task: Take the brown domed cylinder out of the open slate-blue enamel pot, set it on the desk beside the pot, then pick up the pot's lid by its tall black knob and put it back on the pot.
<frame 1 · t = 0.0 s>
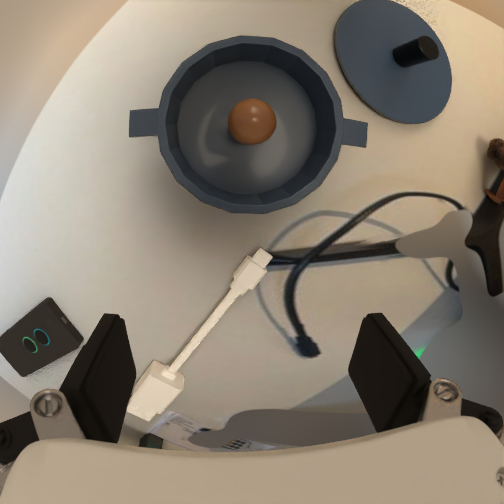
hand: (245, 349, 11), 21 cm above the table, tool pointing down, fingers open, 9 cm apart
smart home device: (35, 339, 35), on the table
pot: (247, 125, 27), on the table
charging cable: (185, 346, 36), on the table
orange-brown curved ring piece: (492, 165, 31), on the table
brown domed cylinder: (247, 125, 27), resting on pot
lid: (399, 58, 25), point 1 cm above the table
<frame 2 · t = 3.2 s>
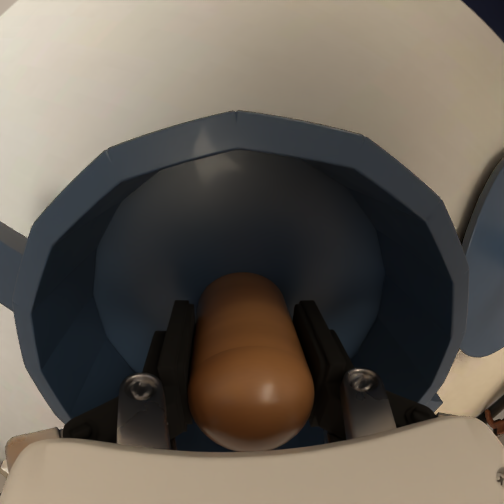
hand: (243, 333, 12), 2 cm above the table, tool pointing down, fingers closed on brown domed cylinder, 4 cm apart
pot: (241, 306, 14), on the table
brown domed cylinder: (241, 311, 13), resting on pot, touching gripper
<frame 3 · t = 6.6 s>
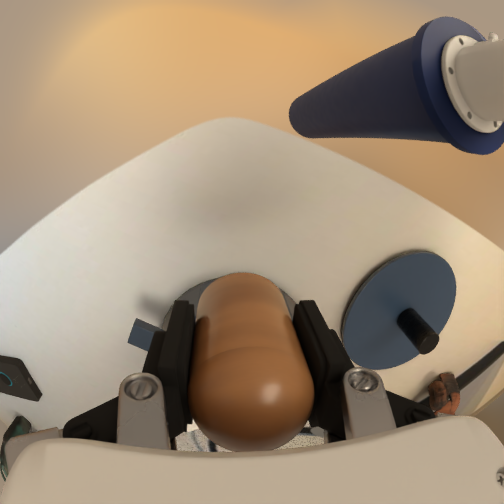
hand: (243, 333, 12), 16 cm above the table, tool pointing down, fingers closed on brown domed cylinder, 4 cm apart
dark green sculpted piece: (49, 442, 39), on the table
pot: (234, 340, 31), on the table
orange-brown curved ring piece: (430, 388, 39), on the table
brown domed cylinder: (241, 311, 13), point 14 cm above the table, touching gripper
lid: (403, 315, 31), point 1 cm above the table
when the fingers open (2 cm above the table, at t = 10.1 s): brown domed cylinder stays where it is, on the table.
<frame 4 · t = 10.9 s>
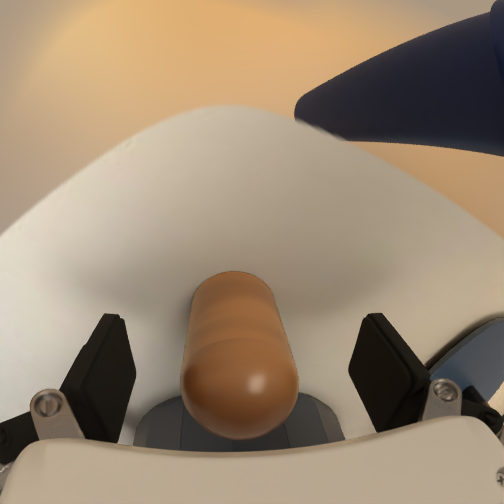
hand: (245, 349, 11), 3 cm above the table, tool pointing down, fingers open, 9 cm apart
pot: (239, 449, 18), on the table
brown domed cylinder: (233, 308, 14), on the table
lid: (459, 392, 19), point 1 cm above the table
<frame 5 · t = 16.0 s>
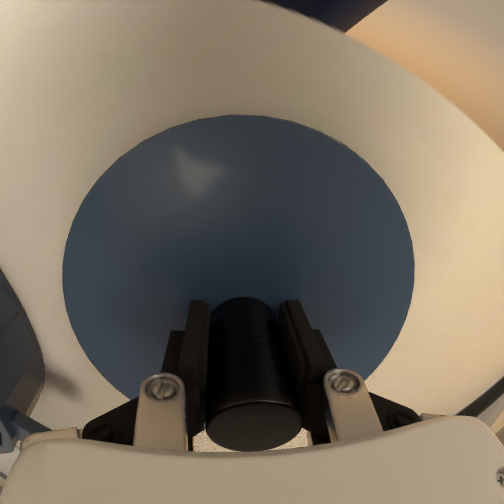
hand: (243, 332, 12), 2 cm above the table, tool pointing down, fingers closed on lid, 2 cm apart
lid: (242, 316, 13), point 1 cm above the table, touching gripper
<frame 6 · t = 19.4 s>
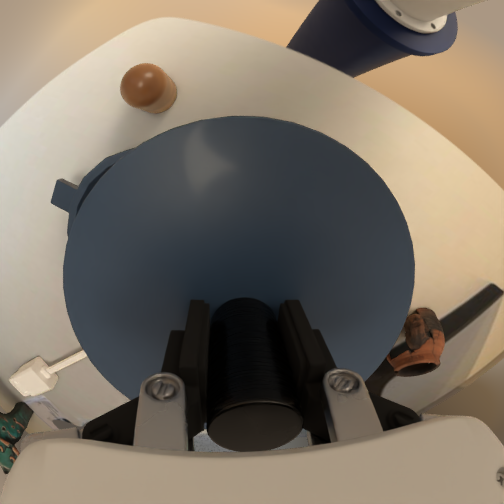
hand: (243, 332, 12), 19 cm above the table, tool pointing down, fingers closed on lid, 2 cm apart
dark green sculpted piece: (4, 384, 38), on the table
pot: (159, 222, 29), on the table
charging cable: (64, 358, 35), on the table
orange-brown curved ring piece: (407, 329, 38), on the table
brown domed cylinder: (157, 94, 24), on the table
lid: (242, 317, 13), point 18 cm above the table, touching gripper
when the fingers open (7 cm above the table, at t = 23.1 s): lid stays where it is, resting on pot.
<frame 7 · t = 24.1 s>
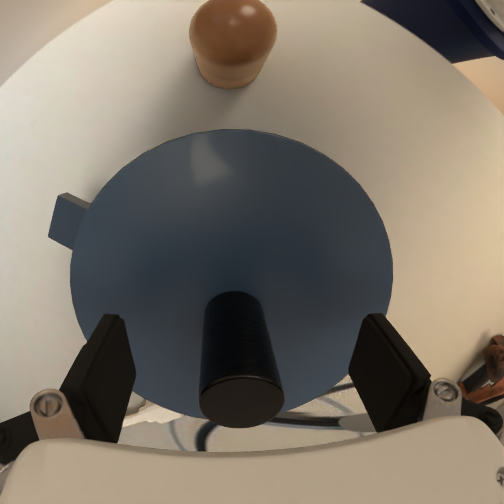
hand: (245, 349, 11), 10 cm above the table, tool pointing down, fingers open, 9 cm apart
pot: (230, 261, 20), on the table
charging cable: (81, 425, 25), on the table
orange-brown curved ring piece: (480, 358, 28), on the table
brown domed cylinder: (230, 60, 15), on the table
lid: (233, 309, 14), point 6 cm above the table, touching pot
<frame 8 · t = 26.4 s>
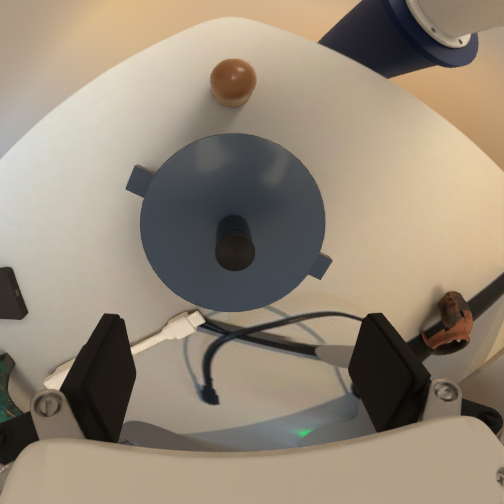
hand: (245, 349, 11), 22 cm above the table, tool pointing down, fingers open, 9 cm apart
dark green sculpted piece: (33, 388, 40), on the table
pot: (231, 212, 31), on the table
charging cable: (110, 356, 37), on the table
orange-brown curved ring piece: (439, 311, 40), on the table
brown domed cylinder: (232, 89, 27), on the table
lid: (232, 228, 26), point 6 cm above the table, touching pot
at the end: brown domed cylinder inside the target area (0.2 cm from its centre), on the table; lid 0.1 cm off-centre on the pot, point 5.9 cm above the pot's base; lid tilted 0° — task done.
